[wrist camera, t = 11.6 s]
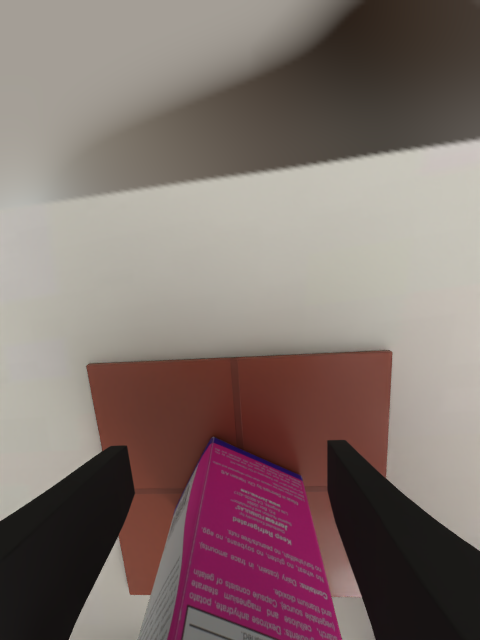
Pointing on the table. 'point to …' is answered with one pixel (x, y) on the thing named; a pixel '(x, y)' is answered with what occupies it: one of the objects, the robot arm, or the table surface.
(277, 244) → the table surface
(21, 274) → the table surface
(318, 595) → the supplement box
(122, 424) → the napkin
